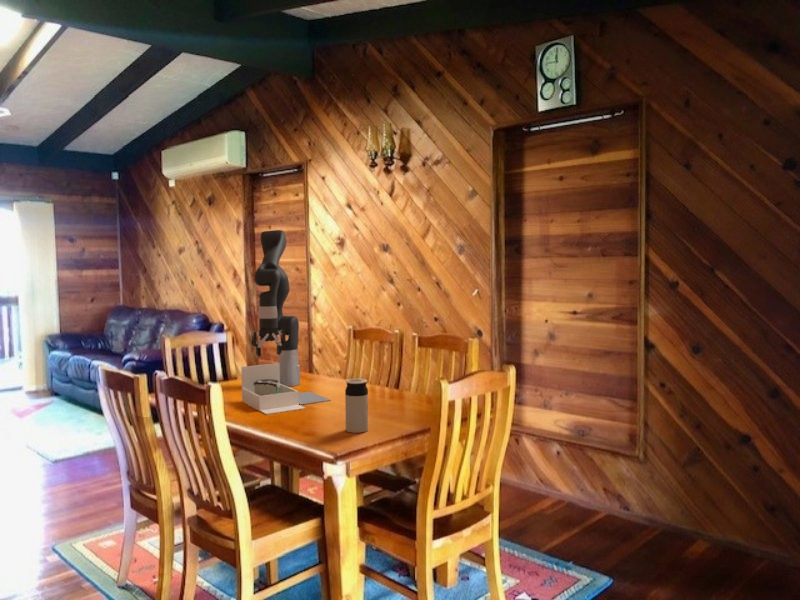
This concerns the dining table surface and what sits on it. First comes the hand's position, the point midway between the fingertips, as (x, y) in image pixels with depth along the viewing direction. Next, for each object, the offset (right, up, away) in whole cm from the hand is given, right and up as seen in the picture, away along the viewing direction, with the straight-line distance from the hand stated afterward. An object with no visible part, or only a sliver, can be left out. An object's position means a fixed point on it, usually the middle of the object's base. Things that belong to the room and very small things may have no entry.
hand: (268, 355), depth 270 cm
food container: (0, -21, +1) cm, 21 cm away
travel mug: (+40, -23, -41) cm, 61 cm away
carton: (+2, -21, -2) cm, 21 cm away
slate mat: (+14, -20, +10) cm, 26 cm away
